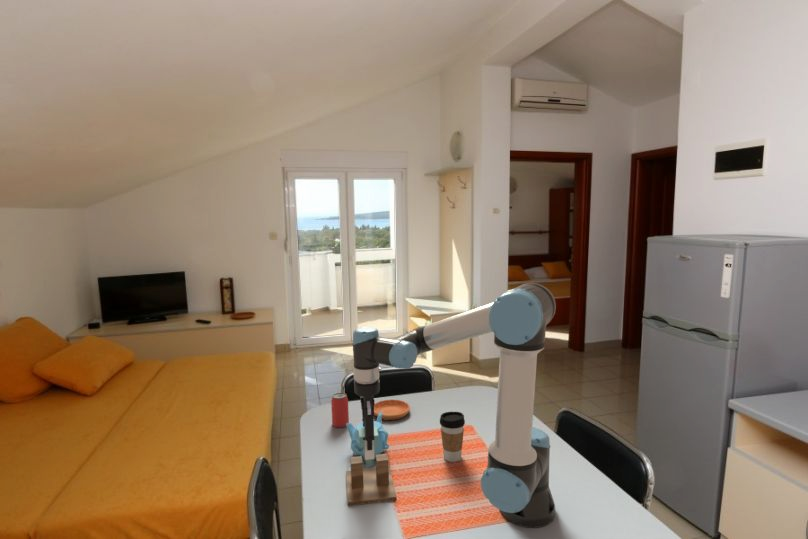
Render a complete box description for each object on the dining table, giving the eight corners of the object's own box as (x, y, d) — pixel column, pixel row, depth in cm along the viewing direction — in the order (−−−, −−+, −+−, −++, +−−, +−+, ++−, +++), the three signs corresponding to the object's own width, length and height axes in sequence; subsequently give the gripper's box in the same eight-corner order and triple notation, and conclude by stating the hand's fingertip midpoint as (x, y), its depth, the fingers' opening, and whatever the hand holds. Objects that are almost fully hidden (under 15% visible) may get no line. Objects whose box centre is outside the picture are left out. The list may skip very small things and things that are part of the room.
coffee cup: (464, 465, 147) (463, 421, 145) (438, 462, 149) (438, 419, 147) (465, 451, 155) (465, 410, 154) (441, 449, 157) (441, 408, 155)
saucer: (392, 402, 198) (392, 395, 198) (418, 413, 186) (417, 406, 186) (364, 413, 187) (363, 406, 187) (389, 426, 176) (388, 419, 175)
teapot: (346, 444, 162) (344, 415, 160) (383, 439, 165) (382, 409, 164) (352, 467, 147) (351, 435, 146) (393, 460, 151) (392, 428, 149)
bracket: (396, 499, 130) (395, 470, 129) (348, 505, 128) (347, 476, 127) (389, 469, 146) (388, 443, 145) (346, 473, 144) (345, 447, 142)
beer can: (352, 422, 179) (351, 394, 177) (341, 429, 173) (340, 400, 172) (339, 419, 182) (338, 390, 181) (328, 425, 177) (327, 396, 175)
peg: (379, 467, 134) (378, 435, 132) (360, 469, 133) (359, 437, 131) (377, 457, 139) (376, 426, 138) (359, 459, 138) (358, 428, 137)
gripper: (382, 390, 124) (384, 468, 127) (376, 368, 142) (377, 436, 145) (355, 392, 123) (358, 471, 126) (352, 369, 141) (354, 439, 144)
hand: (368, 452), depth 135 cm, fingers closed on peg, 6 cm apart
